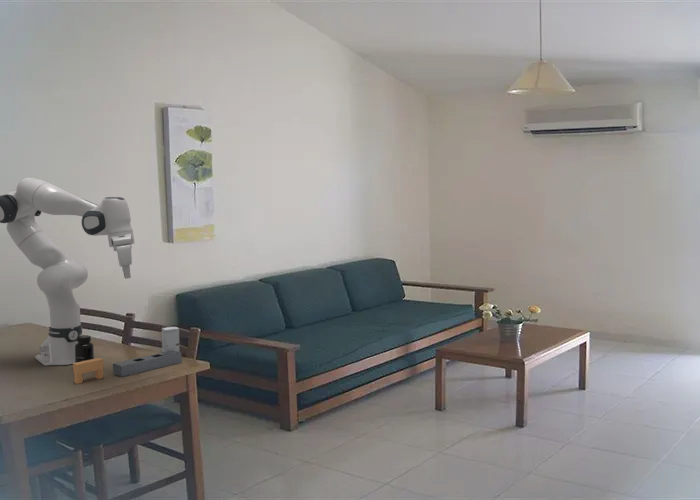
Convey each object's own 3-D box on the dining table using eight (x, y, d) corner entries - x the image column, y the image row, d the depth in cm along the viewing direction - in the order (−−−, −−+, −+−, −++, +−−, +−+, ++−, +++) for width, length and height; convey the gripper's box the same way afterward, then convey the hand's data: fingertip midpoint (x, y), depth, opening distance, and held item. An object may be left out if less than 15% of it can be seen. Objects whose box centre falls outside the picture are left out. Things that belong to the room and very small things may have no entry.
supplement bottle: (76, 370, 270) (75, 339, 269) (74, 366, 276) (73, 335, 275) (95, 368, 273) (94, 337, 272) (93, 363, 279) (91, 333, 278)
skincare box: (165, 359, 285) (164, 330, 283) (161, 357, 288) (160, 328, 287) (180, 357, 288) (179, 328, 287) (176, 355, 292) (175, 326, 290)
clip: (73, 382, 254) (72, 363, 253) (99, 376, 261) (99, 357, 261) (78, 384, 252) (77, 364, 251) (104, 378, 259) (103, 359, 259)
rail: (113, 373, 265) (112, 363, 264) (172, 360, 284) (172, 350, 284) (121, 376, 261) (121, 366, 260) (181, 362, 280) (181, 352, 280)
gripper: (111, 243, 267) (117, 279, 267) (112, 240, 248) (119, 279, 248) (129, 240, 269) (135, 276, 270) (131, 237, 250) (138, 276, 250)
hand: (127, 278), depth 259 cm, fingers open, 8 cm apart
